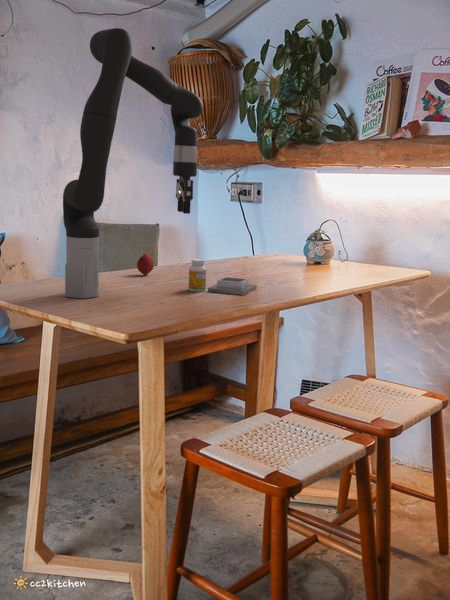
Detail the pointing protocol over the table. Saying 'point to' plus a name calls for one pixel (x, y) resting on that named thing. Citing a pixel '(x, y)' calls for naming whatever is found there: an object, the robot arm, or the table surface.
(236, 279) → the plate
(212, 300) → the table surface
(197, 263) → the supplement bottle
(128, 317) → the table surface
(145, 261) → the red fruit
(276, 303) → the table surface
